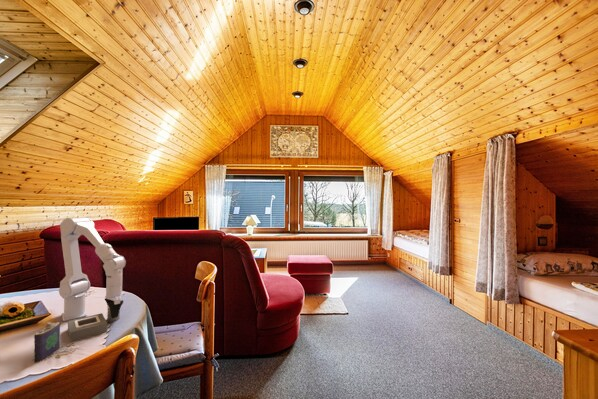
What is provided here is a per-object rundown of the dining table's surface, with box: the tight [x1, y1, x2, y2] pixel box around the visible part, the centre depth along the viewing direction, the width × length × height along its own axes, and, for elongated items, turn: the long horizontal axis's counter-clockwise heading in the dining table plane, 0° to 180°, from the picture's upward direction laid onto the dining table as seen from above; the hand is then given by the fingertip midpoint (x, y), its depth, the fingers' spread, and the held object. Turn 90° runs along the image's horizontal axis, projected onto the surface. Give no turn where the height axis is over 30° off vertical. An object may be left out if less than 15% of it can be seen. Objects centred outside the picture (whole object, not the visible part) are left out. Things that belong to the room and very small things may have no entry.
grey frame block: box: [67, 312, 108, 343], centre depth 105 cm, size 12×11×4 cm
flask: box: [33, 321, 61, 363], centre depth 89 cm, size 9×3×11 cm, turn 8°
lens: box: [106, 305, 121, 323], centre depth 115 cm, size 4×4×7 cm
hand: (113, 315), depth 115 cm, fingers closed on lens, 4 cm apart
